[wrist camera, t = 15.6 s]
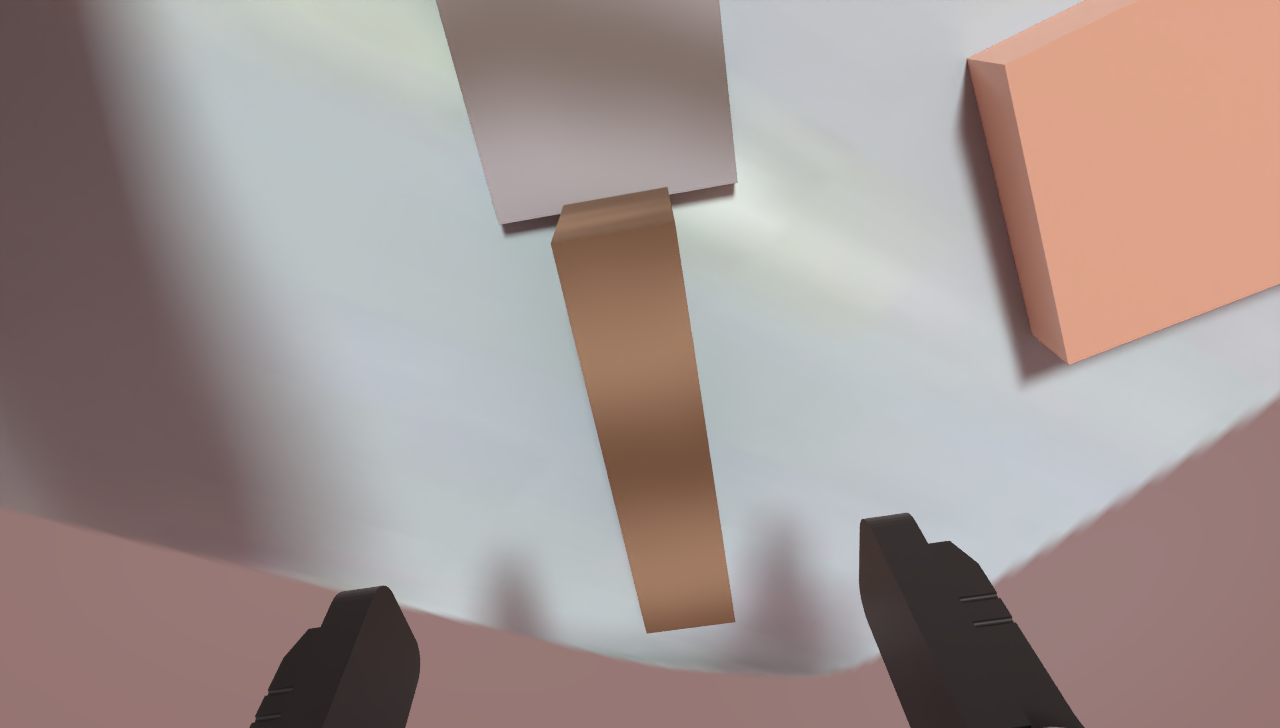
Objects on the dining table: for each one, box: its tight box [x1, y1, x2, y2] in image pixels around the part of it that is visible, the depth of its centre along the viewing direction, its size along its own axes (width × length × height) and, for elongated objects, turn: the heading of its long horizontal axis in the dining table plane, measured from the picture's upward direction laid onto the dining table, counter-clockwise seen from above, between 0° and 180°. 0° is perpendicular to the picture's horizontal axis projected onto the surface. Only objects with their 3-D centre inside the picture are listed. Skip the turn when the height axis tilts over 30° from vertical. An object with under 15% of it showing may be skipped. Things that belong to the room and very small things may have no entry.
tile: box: [967, 0, 1280, 365], centre depth 16 cm, size 2×8×10 cm
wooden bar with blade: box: [436, 0, 738, 633], centre depth 17 cm, size 18×6×4 cm, turn 10°
